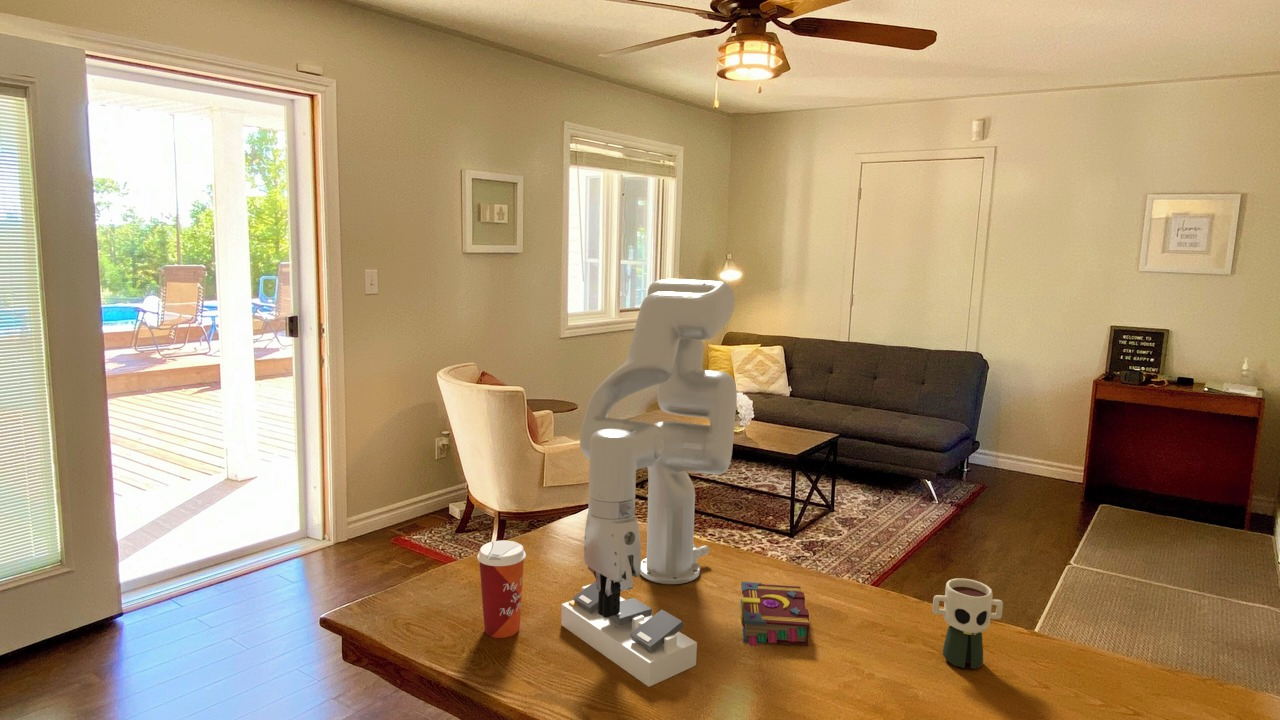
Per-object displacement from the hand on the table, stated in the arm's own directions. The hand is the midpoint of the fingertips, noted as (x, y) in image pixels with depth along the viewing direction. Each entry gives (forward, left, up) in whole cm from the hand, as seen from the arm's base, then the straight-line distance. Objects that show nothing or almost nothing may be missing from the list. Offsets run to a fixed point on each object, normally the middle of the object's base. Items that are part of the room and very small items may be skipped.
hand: (608, 613), depth 128 cm
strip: (-4, -2, -7) cm, 8 cm away
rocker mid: (-4, 0, -1) cm, 4 cm away
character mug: (-45, +38, -7) cm, 59 cm away
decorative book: (-29, +10, -8) cm, 32 cm away
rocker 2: (-4, +8, -1) cm, 9 cm away
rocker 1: (-4, -8, -1) cm, 9 cm away
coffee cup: (+10, -17, -7) cm, 21 cm away
